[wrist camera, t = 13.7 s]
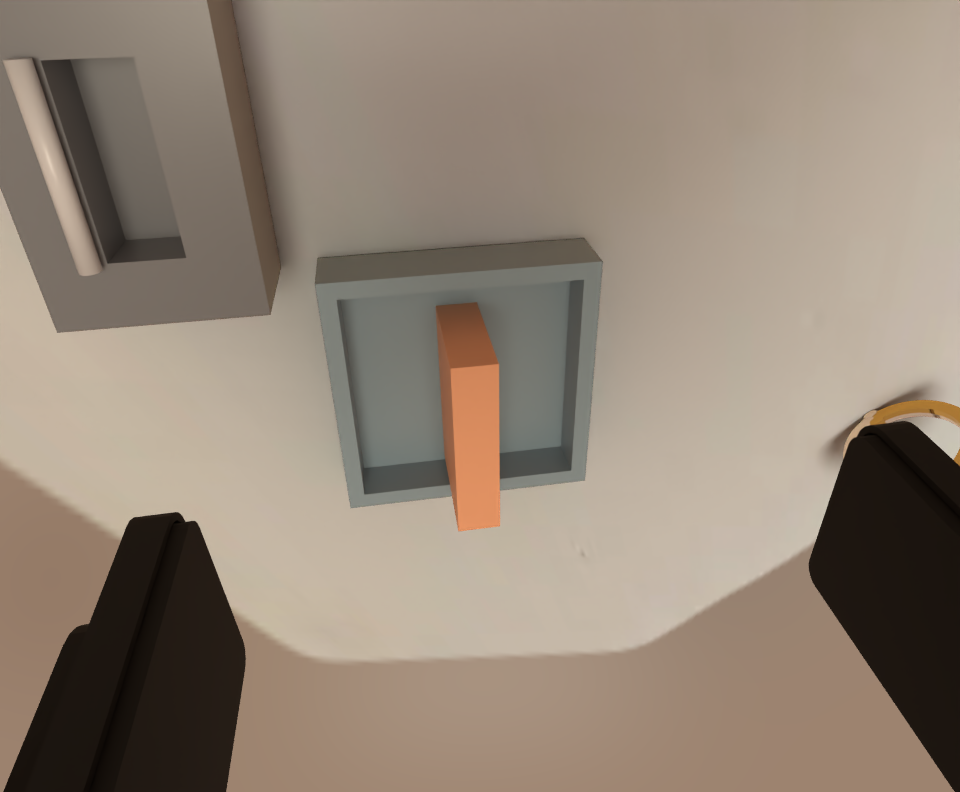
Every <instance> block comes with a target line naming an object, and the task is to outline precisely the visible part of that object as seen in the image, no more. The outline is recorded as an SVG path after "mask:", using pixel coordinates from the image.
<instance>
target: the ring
mask: <svg viewBox="0 0 960 792" xmlns="http://www.w3.org/2000/svg"><path fill="white" fill-rule="evenodd" d="M915 416H928V417H935V418H940V419H944V420H946V421H949V422H951V423H953V424H955V425H956V426H958V427H959V428H960V408H959V407H957V406H954V405H952V404H948V403H945V402H940V401H932V400H915V401H907V402H902V403H898V404H894V405H891V406H888V407H886V408H883V409H881V410H879V411H876V410H873V411H870V412H868V413H867V414H865V415H864V420H863V421H861V422H860V423H859V424H858V425H857V426H856V427H855V428H854V429H853V430H852V432H851V433H850V435H849V436H848V438H847V440H846V443H845V446H844V450H843V459H844V456H845V453H846V450H847V447H848V444H849V443H850V441H851V440H852V439H853V438H855V437H857V435H858V433H859V432H860V430H861V429H862V428H864V427H865V426H869V425H877V424H885V423H891V422H893V421H896V420H899V419H903V418H908V417H915ZM954 461H955V462H956V463H957V464H958V465H959V466H960V449H959V451H958V453H957V455H956V457H955V458H954Z"/></svg>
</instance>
